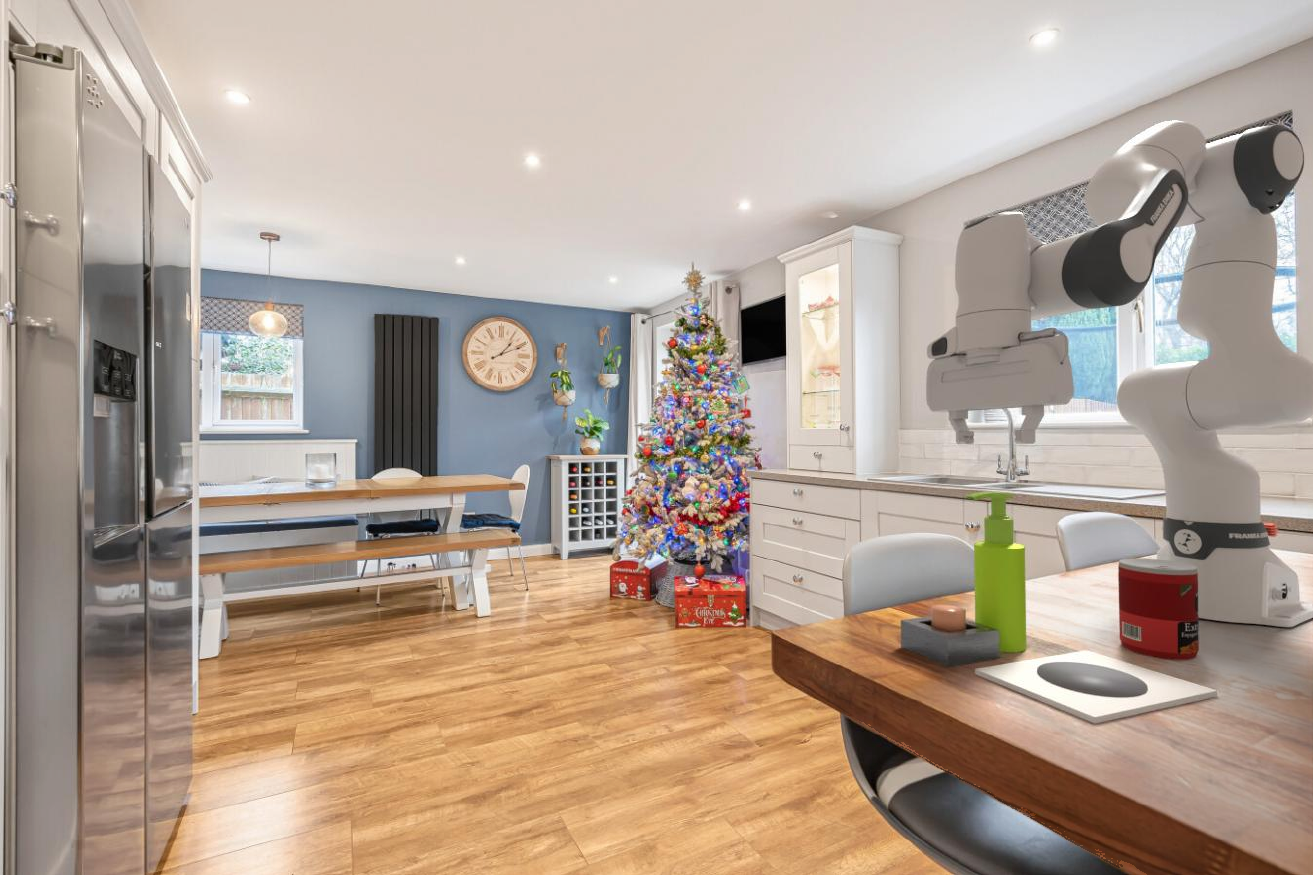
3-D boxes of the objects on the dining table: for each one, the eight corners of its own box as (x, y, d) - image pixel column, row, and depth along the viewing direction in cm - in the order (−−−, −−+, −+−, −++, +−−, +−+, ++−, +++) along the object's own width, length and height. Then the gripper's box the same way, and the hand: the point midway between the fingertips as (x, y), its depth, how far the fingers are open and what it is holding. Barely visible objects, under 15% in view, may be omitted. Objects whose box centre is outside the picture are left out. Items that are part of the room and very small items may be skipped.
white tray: (1086, 654, 80) (1086, 648, 80) (1217, 696, 67) (1217, 688, 67) (975, 674, 74) (975, 667, 74) (1094, 723, 61) (1094, 715, 61)
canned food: (1197, 665, 76) (1196, 572, 76) (1115, 651, 82) (1113, 564, 82) (1201, 649, 82) (1199, 562, 82) (1123, 637, 87) (1122, 555, 87)
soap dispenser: (959, 639, 87) (956, 491, 87) (1007, 637, 87) (1005, 490, 88) (984, 653, 81) (982, 494, 81) (1036, 651, 82) (1034, 493, 82)
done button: (948, 626, 84) (948, 603, 84) (973, 635, 80) (973, 611, 80) (924, 630, 83) (923, 606, 83) (948, 638, 79) (947, 614, 79)
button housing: (949, 639, 87) (948, 613, 87) (999, 658, 79) (998, 629, 79) (901, 646, 84) (900, 619, 84) (948, 666, 76) (947, 637, 76)
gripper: (1086, 326, 76) (1087, 443, 76) (952, 350, 95) (952, 444, 95) (1047, 323, 74) (1048, 443, 74) (918, 348, 93) (918, 444, 93)
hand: (993, 444), depth 84 cm, fingers open, 8 cm apart
